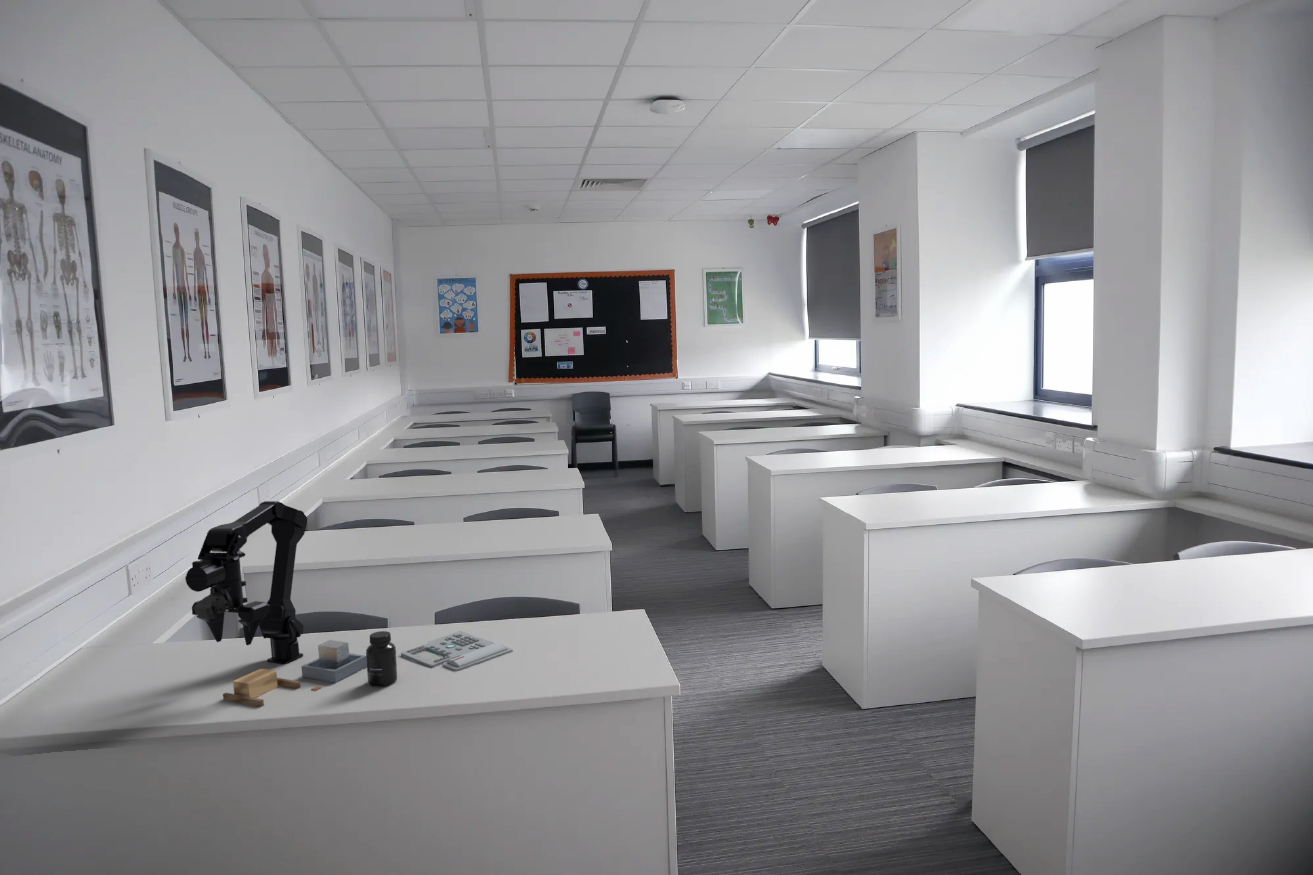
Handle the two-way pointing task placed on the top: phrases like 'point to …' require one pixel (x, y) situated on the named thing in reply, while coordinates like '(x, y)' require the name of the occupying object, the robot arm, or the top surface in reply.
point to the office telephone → (458, 651)
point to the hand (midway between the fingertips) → (233, 643)
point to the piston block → (256, 683)
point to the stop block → (333, 654)
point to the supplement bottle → (381, 660)
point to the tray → (334, 676)
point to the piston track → (260, 701)
